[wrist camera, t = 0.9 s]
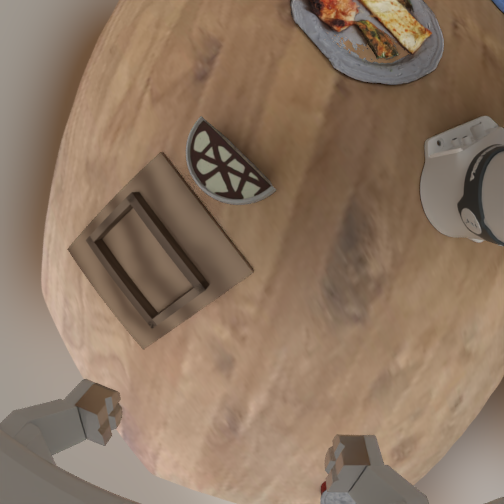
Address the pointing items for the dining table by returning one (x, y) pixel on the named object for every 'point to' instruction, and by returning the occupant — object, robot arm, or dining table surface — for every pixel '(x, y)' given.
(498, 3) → the water jug
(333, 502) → the canned food
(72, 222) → the dining table surface
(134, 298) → the caddy board
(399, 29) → the food plate
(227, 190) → the food container
